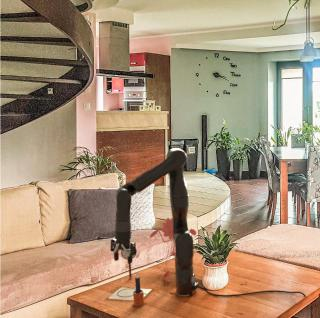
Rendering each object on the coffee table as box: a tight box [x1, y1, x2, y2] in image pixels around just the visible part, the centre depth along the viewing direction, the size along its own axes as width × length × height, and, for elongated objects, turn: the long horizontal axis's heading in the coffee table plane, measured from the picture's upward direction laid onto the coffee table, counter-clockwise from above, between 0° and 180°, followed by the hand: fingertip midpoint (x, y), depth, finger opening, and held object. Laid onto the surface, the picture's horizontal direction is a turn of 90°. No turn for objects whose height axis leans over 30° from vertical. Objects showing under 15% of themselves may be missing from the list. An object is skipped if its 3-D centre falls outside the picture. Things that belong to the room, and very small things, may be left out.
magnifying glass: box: [120, 249, 138, 280], centre depth 247 cm, size 9×2×20 cm, turn 105°
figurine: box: [149, 217, 197, 283], centre depth 247 cm, size 15×26×35 cm, turn 115°
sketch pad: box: [107, 286, 153, 301], centre depth 227 cm, size 18×14×1 cm
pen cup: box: [133, 288, 145, 307], centre depth 214 cm, size 5×5×7 cm
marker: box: [134, 275, 141, 293], centre depth 214 cm, size 2×2×14 cm
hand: (123, 261), depth 213 cm, fingers open, 8 cm apart
